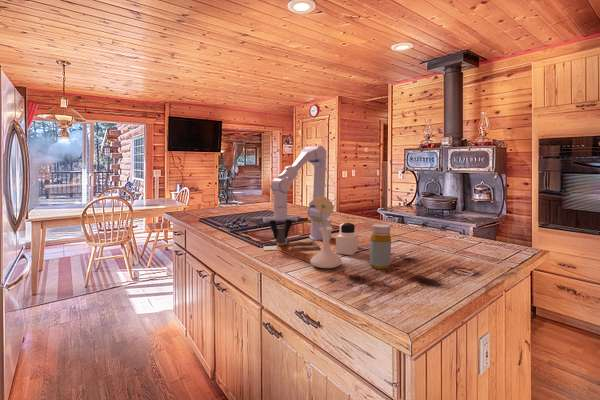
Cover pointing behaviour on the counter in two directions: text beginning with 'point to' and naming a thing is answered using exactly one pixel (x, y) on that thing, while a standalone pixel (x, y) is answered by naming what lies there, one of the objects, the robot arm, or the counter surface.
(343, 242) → the medicine bottle
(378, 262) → the bottle
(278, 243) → the latch bar
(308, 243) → the frame
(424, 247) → the counter surface
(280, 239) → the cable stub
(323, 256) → the flower in vase
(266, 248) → the off-white flat square block
